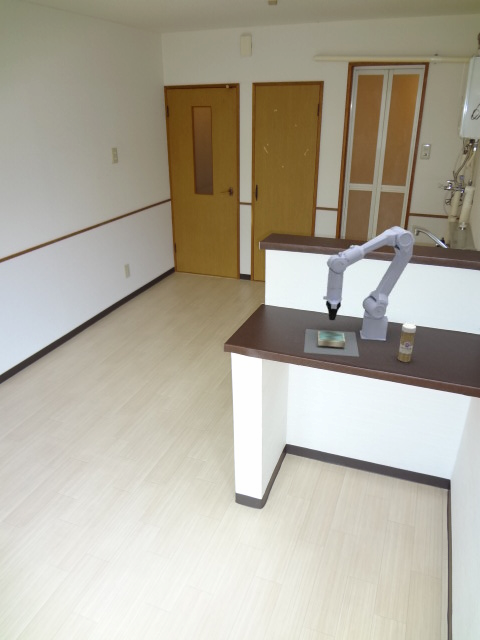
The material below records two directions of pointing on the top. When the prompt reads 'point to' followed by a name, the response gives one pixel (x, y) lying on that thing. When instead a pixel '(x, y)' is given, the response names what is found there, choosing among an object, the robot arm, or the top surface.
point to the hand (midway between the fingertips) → (331, 319)
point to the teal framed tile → (331, 339)
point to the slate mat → (313, 346)
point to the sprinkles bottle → (406, 342)
